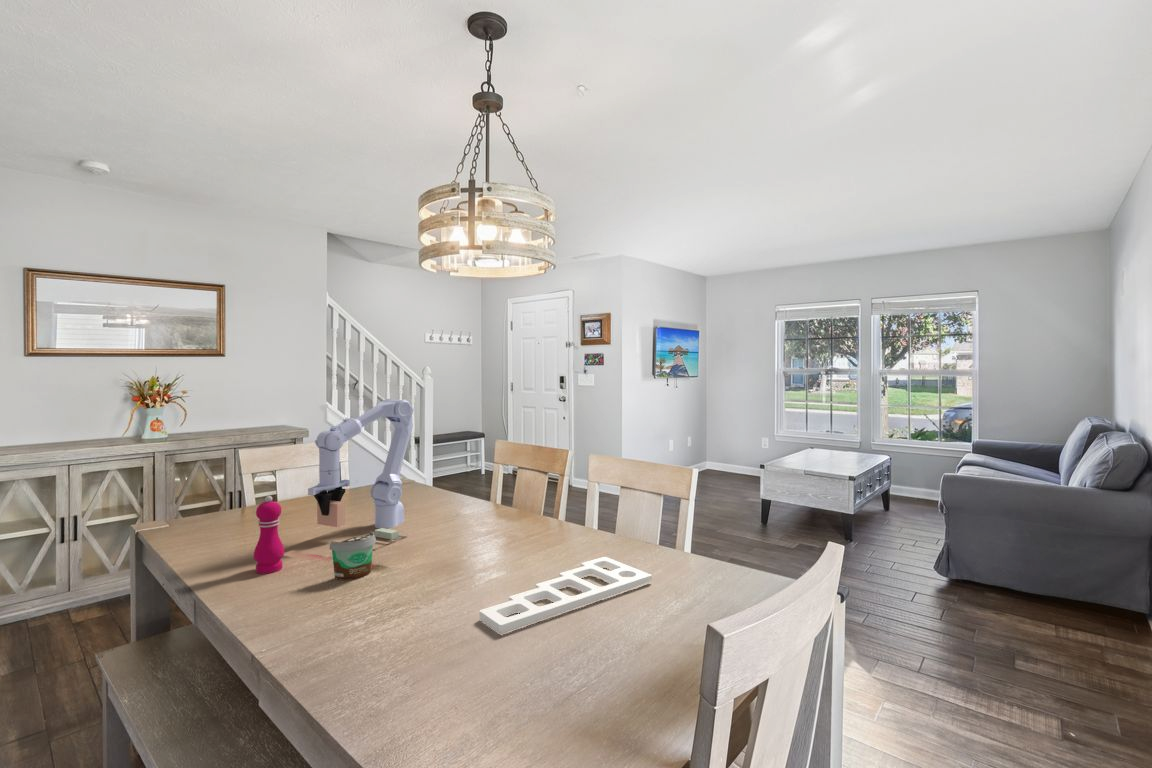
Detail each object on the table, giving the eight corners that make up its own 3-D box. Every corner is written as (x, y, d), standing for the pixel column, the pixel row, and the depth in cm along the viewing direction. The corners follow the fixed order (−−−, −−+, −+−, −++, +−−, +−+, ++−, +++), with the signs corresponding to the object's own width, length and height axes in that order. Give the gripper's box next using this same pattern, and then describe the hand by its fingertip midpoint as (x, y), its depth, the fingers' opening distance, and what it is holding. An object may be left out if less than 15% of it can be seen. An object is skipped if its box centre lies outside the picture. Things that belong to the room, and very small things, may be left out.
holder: (500, 638, 114) (500, 625, 114) (459, 608, 128) (459, 597, 128) (652, 585, 142) (652, 575, 142) (604, 565, 156) (605, 556, 156)
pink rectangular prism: (325, 521, 174) (325, 499, 174) (344, 524, 172) (344, 502, 171) (317, 524, 172) (317, 501, 171) (337, 527, 169) (337, 504, 169)
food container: (342, 585, 139) (342, 546, 139) (329, 579, 143) (329, 541, 143) (385, 571, 149) (385, 534, 149) (372, 566, 153) (372, 530, 152)
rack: (377, 536, 180) (377, 532, 179) (407, 541, 175) (407, 536, 175) (341, 550, 166) (341, 545, 166) (373, 556, 161) (373, 551, 161)
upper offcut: (381, 534, 177) (381, 527, 177) (398, 537, 174) (398, 530, 174) (374, 536, 175) (374, 530, 175) (391, 539, 172) (391, 533, 172)
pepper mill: (271, 575, 146) (270, 499, 145) (247, 573, 147) (246, 498, 146) (290, 566, 153) (289, 493, 152) (267, 564, 154) (267, 492, 154)
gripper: (337, 465, 180) (337, 507, 180) (300, 472, 166) (300, 518, 166) (354, 466, 177) (354, 509, 177) (318, 474, 163) (318, 520, 164)
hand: (329, 513), depth 172 cm, fingers closed on pink rectangular prism, 3 cm apart
